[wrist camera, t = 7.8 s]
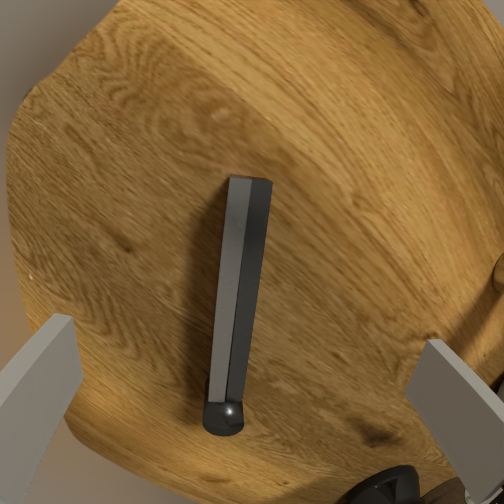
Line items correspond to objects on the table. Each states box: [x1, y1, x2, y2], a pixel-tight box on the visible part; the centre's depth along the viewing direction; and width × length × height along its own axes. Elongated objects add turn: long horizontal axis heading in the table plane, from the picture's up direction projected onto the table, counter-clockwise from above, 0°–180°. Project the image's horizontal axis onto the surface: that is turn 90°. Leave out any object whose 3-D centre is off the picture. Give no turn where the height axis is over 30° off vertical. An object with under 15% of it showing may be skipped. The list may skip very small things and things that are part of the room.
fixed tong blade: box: [203, 176, 273, 436], centre depth 27 cm, size 24×4×6 cm, turn 173°
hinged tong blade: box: [208, 174, 252, 403], centre depth 26 cm, size 20×2×5 cm, turn 173°
